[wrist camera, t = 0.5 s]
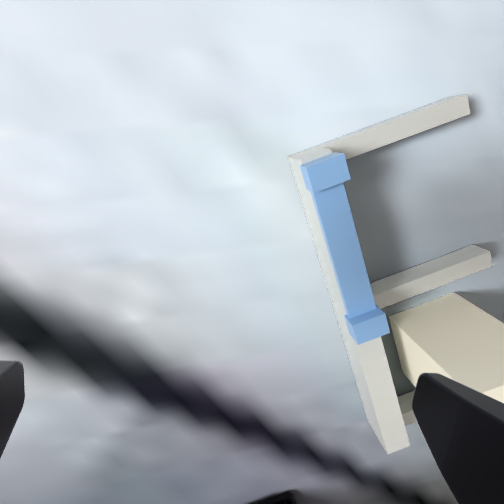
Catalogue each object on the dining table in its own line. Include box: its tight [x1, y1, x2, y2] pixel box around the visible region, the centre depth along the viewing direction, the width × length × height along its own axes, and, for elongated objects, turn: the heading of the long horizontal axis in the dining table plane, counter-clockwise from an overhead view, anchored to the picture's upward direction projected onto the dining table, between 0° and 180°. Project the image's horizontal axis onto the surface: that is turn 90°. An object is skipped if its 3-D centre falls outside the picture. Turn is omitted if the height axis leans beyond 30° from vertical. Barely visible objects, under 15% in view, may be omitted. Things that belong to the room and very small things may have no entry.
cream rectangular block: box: [389, 292, 504, 403], centre depth 22 cm, size 4×4×9 cm
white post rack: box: [287, 94, 492, 454], centre depth 22 cm, size 19×10×4 cm, turn 19°
